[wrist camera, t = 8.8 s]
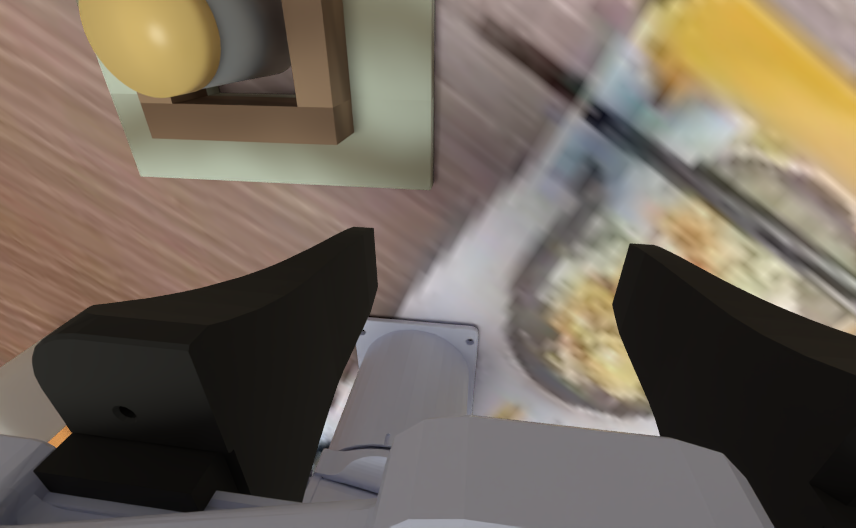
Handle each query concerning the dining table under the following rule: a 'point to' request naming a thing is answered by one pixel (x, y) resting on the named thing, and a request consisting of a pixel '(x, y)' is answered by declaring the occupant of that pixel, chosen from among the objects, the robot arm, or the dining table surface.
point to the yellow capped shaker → (186, 42)
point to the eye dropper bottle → (26, 401)
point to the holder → (307, 106)
